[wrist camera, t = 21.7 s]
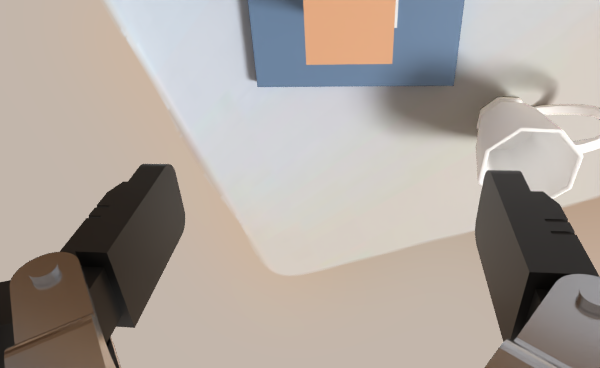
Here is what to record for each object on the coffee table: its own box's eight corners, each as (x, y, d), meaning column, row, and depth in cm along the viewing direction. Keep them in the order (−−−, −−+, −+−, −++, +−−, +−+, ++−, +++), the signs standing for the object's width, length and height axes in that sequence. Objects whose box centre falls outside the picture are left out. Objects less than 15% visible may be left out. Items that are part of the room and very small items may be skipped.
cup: (451, 96, 40) (467, 143, 33) (583, 55, 37) (630, 97, 30) (469, 164, 43) (487, 219, 36) (591, 132, 40) (635, 186, 33)
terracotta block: (393, -45, 29) (397, -30, 25) (389, 37, 32) (392, 63, 28) (311, -42, 30) (301, -27, 25) (314, 39, 32) (306, 64, 28)
